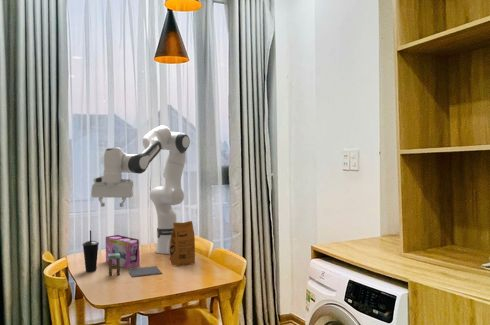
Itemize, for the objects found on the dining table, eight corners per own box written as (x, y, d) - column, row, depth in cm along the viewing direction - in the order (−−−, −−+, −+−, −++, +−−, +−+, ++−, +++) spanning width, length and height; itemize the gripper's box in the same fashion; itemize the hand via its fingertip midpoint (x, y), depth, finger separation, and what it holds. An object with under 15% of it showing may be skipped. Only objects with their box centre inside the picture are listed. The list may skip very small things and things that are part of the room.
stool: (119, 272, 202) (119, 253, 202) (120, 275, 197) (120, 255, 197) (108, 273, 200) (107, 254, 200) (109, 276, 195) (108, 256, 195)
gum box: (141, 266, 214) (141, 239, 214) (127, 269, 208) (127, 242, 208) (118, 259, 231) (118, 234, 231) (105, 261, 225) (104, 236, 225)
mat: (156, 267, 211) (156, 266, 211) (161, 273, 198) (161, 272, 198) (128, 270, 205) (128, 269, 205) (131, 277, 192) (131, 276, 192)
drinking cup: (102, 269, 208) (101, 229, 208) (92, 273, 201) (91, 232, 201) (90, 268, 210) (89, 229, 210) (79, 272, 203) (78, 231, 203)
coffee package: (168, 262, 219) (167, 221, 219) (190, 260, 225) (189, 219, 225) (174, 267, 211) (173, 223, 211) (196, 263, 216) (196, 221, 216)
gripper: (134, 179, 212) (134, 206, 212) (94, 178, 212) (94, 205, 212) (131, 179, 206) (131, 207, 206) (90, 179, 206) (89, 206, 205)
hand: (112, 206), depth 209 cm, fingers open, 8 cm apart
